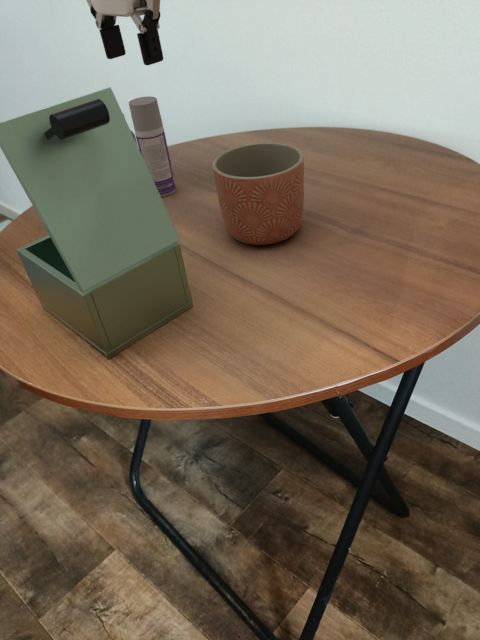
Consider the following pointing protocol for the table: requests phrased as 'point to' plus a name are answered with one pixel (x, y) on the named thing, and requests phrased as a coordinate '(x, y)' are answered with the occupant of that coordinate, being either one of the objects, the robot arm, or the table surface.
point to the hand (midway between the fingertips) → (134, 59)
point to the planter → (260, 191)
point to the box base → (110, 296)
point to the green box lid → (88, 185)
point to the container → (153, 142)
